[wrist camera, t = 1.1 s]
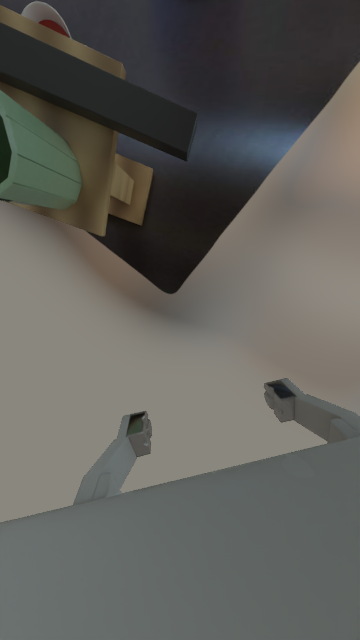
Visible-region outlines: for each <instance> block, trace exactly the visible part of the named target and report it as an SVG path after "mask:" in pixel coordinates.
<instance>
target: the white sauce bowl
mask: <svg viewBox="0 0 360 640" xmlns="http://www.w3.org/2000/svg"><path fill="white" fill-rule="evenodd" d="M21 15H22V16H24V17H26V18H28V19H30V20H32V21H35V22H37V23H39V24H41V25H43V26H45V27H47V28H49V29H51V30H53V31H56V32H58V33H60V34H62V35H64V36H66V37H68V38H70V39H72V38H71V35H70V33H69V31H68V28H67V26H66V24H65V23H64V21H63V19H62V18H61V16H60V15H59V14H58V13H57V11H56V10H55V9H53V8H52V7H51V6H50V5H48V4H46V3H43V2H32V3H30V4H29V5H27V6H26V7H25V9H24V10H23V12H22V14H21Z"/></svg>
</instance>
